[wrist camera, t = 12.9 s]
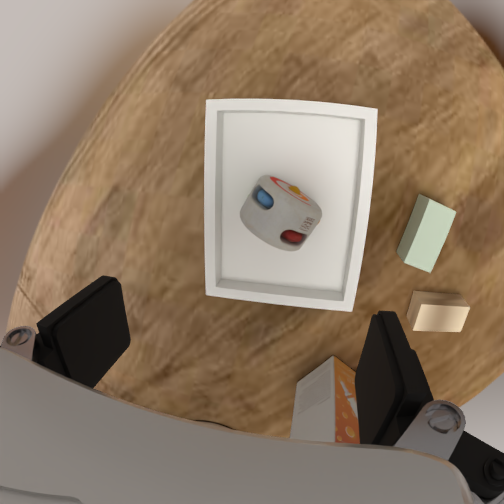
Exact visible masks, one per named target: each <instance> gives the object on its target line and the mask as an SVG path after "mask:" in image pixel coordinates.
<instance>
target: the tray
mask: <svg viewBox="0 0 504 504" xmlns="http://www.w3.org/2000/svg"><path fill="white" fill-rule="evenodd" d="M377 111H378V109H374V108H368V107H361V106H353V105H345V104H337V103H327V102H316V101H302V100H284V99H210V100H206V118H205V160H204V239H205V282H206V295H210V296H217V297H224V298H231V299H239V300H247V301H255V302H263V303H271V304H280V305H289V306H298V307H307V308H317V309H327V310H338V311H350V312H352V309H353V305H354V300H355V295H356V290H357V285H358V280H359V275H360V269H361V263H362V258H363V252H364V245H365V239H366V232H367V225H368V218H369V210H370V202H371V194H372V184H373V174H374V163H375V150H376V134H377ZM264 175H271V176H274V177H276V178H279V179H281V180H283V181H285V182H287V183H288V184H290V185H292V186H296V187H298V188H299V190H300V191H301V192H303V193H304V194H305V195H307V196H308V197H309V198H311V199H312V200H313V201H314V202H315V203H317V204H318V206H319V207H320V208H321V210H322V217H321V219H320V222H319V224H317V225H316V227H315V228H314V230H313V231H312V233H311V234H310V236H309V237H308V239H307V240H306V241H305V243H304V244H303V246H302V247H301V248H300V249H299V250H297V251H284V250H281V249H278V248H276V247H273V246H271V245H269V244H267V243H266V242H264V241H262V240H261V239H259V238H258V237H257V236H255V235H254V234H253V233H252V232H250V231H249V230H248V229H247V228H246V227H245V225H244V224H243V223H242V221H241V218H240V210H241V208H242V206H243V204H244V202H245V201H246V199H247V197H248V195H249V194H250V192H251V191H252V189H253V187H254V186H255V184H256V182H257V181H258V179H259V178H260V177H261V176H264Z"/></svg>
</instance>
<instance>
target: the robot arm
mask: <svg viewBox="0 0 504 504" xmlns="http://www.w3.org/2000/svg"><path fill="white" fill-rule="evenodd" d="M36 324H37V327H38V330H39V333H38V334H37V335H36V332H35V330H34V329H33V328H31V327H28V326H21V327H16V328H14V329H12V330H10V331H9V332H8V333H7V334H6V335H5V336H4V338H3V341H2V344H1V346H0V504H504V453H502V452H500V451H499V450H497V449H495V448H493V447H492V446H490V445H488V444H486V443H484V442H483V441H481V440H479V439H478V438H476V437H474V436H472V435H470V434H469V433H467V432H465V431H464V428H465V424H466V421H465V416H464V414H463V412H462V410H461V409H460V408H459V407H458V406H456V405H455V404H453V403H451V402H449V401H446V400H434V399H433V396H432V394H431V391H430V388H429V385H428V382H427V380H426V377H425V374H424V372H423V369H422V367H421V364H420V362H419V359H418V357H417V354H416V352H415V350H413V349H411V348H410V346H409V343H408V341H407V338H406V336H405V333H404V331H403V328H402V326H401V324H400V321H399V319H398V317H397V314H396V313H395V312H393V311H379V312H378V314H377V315H376V314H373V316H372V318H371V322H370V326H369V330H368V333H367V337H366V340H365V344H364V347H363V351H362V354H361V358H360V361H359V364H358V367H357V371H356V374H355V392H356V402H357V413H358V424H359V438H360V444H353V443H337V442H322V441H311V440H301V439H292V438H284V437H276V436H269V435H262V434H255V433H249V432H243V431H238V430H233V429H229V428H227V427H224V426H221V425H219V424H214V423H210V422H200V421H192V420H188V419H184V418H180V417H177V416H173V415H169V414H166V413H162V412H159V411H156V410H152V409H149V408H146V407H143V406H140V405H137V404H134V403H131V402H128V401H125V400H122V399H119V398H117V397H114V396H111V395H108V394H106V393H103V392H101V391H98V390H96V389H93V388H94V387H95V386H96V384H97V383H98V382H99V381H100V380H101V378H102V377H103V376H104V375H105V374H106V372H107V371H108V370H109V369H110V368H111V367H112V365H113V364H114V363H115V362H116V361H117V360H118V358H119V357H120V356H121V355H122V354H123V353H124V351H125V350H126V349H127V348H128V347H129V345H130V341H131V339H130V333H129V328H128V323H127V318H126V312H125V306H124V301H123V294H122V288H121V284H120V283H119V282H118V280H117V279H116V278H115V277H109V276H101V277H100V278H98V279H97V280H95V281H94V282H92V283H91V284H90V285H88V286H87V287H85V288H84V289H83V290H81V291H80V292H78V293H77V294H75V295H74V296H73V297H71V298H70V299H69V300H67V301H66V302H64V303H63V304H62V305H60V306H59V307H58V308H56V309H55V310H54V311H52V312H51V313H50V314H48V315H47V316H46V317H44V318H43V319H42V320H40V321H39V322H38V323H36Z"/></svg>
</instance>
